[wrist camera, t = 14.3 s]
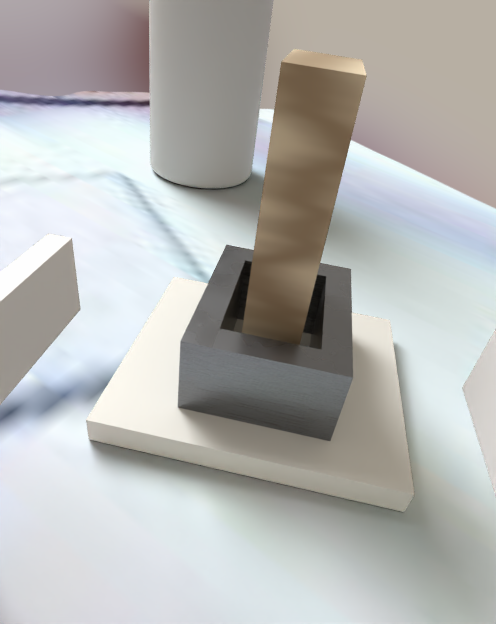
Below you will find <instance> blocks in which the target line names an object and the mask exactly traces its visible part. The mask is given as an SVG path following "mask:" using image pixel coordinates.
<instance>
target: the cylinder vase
mask: <svg viewBox="0 0 496 624" xmlns="http://www.w3.org/2000/svg"><path fill="white" fill-rule="evenodd" d="M272 8H273V0H149V35H150V36H149V39H150V40H149V42H150V163H151V166H152V168H153V170H154V171H155V172H156V173H157V174H158V175H159V176H161V177H163V178H164V179H166V180H169V181H171V182H174V183H177V184H180V185H185V186H190V187H196V188H210V189H213V188H227V187H232V186H236V185H239V184H241V183H243V182H245V181H246V180H247V179H248V178H249V177H250V175H251V171H252V164H253V156H254V148H255V140H256V133H257V125H258V117H259V109H260V101H261V93H262V86H263V78H264V70H265V62H266V54H267V47H268V39H269V30H270V23H271V15H272Z"/></svg>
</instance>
